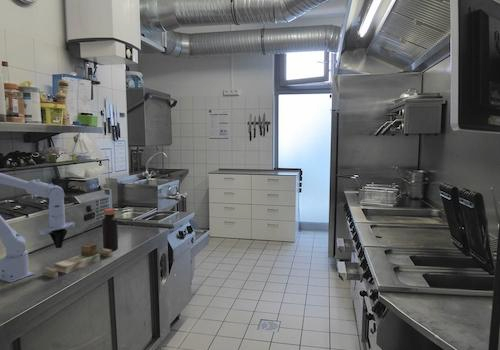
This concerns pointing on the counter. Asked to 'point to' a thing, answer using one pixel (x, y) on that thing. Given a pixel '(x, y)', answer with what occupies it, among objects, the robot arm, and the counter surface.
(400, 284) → the counter surface
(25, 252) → the robot arm
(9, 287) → the counter surface
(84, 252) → the walnut block
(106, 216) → the bottle
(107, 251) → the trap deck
